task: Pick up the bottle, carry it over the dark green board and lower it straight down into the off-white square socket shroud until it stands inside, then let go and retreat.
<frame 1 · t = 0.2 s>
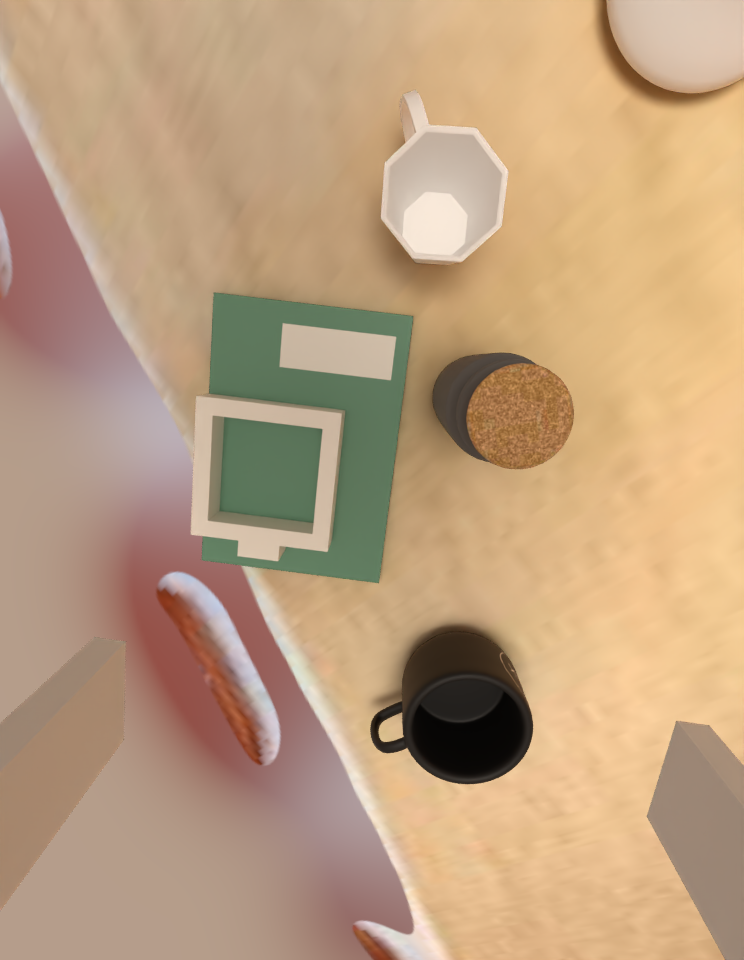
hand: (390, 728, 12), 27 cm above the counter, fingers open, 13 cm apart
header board: (302, 444, 39), on the counter
mug: (439, 675, 43), on the counter
bottle: (471, 396, 38), on the counter
cup: (426, 210, 35), on the counter
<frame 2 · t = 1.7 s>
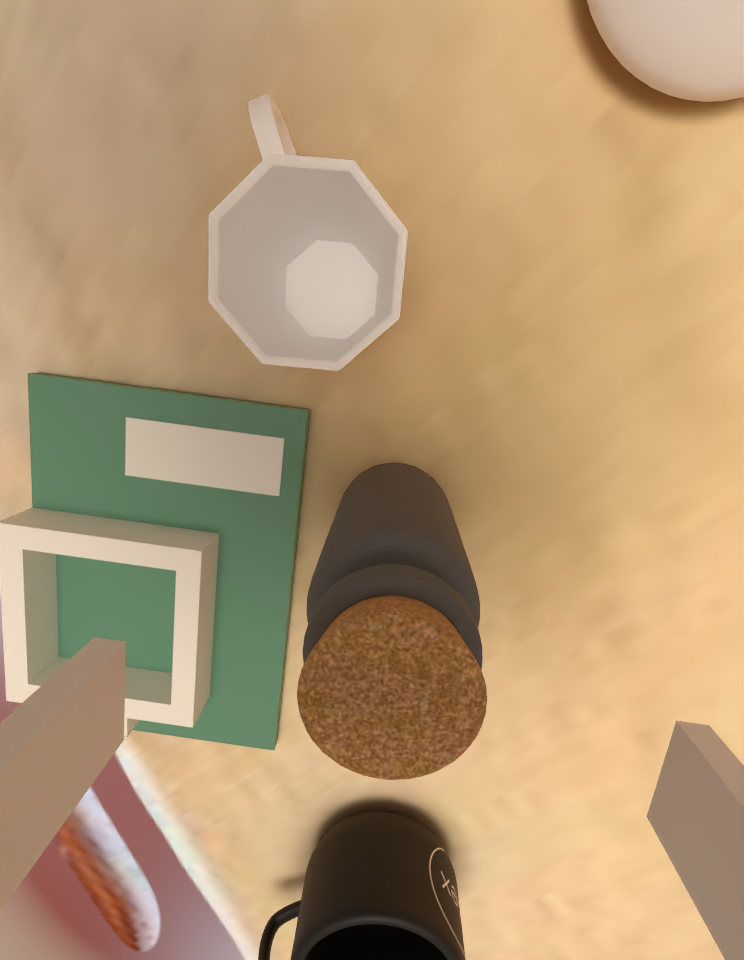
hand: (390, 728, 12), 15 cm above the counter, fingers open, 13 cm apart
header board: (167, 571, 29), on the counter
mug: (360, 855, 33), on the counter
bottle: (394, 514, 27), on the counter
cup: (325, 263, 25), on the counter
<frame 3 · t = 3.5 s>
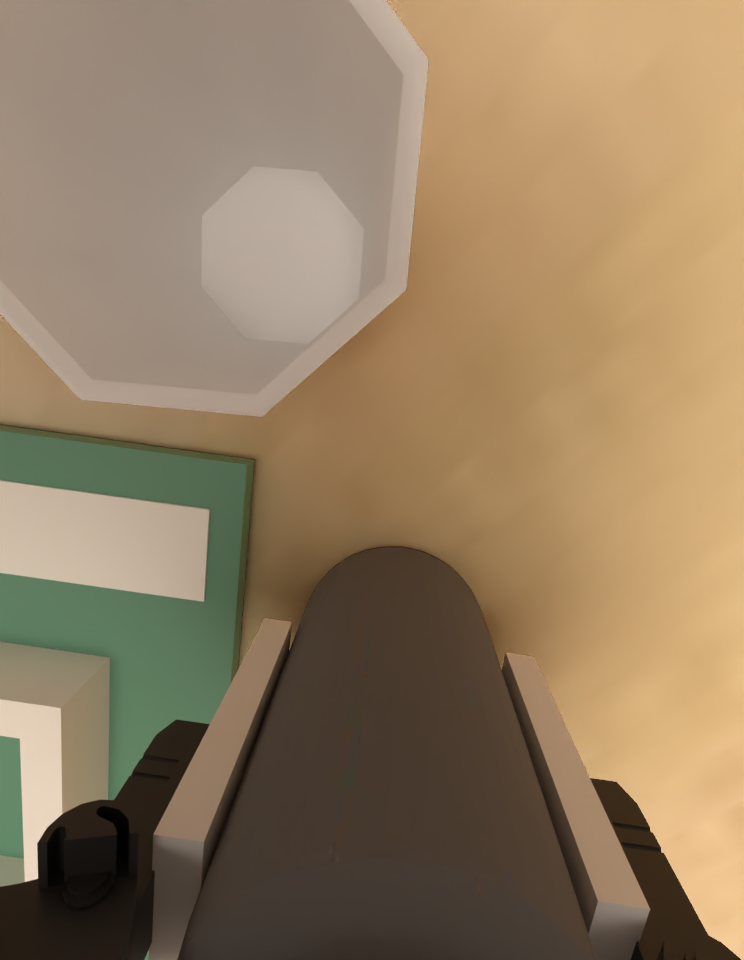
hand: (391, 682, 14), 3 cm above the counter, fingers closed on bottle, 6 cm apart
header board: (38, 707, 18), on the counter
bottle: (392, 625, 17), on the counter, touching gripper
cup: (275, 214, 14), on the counter
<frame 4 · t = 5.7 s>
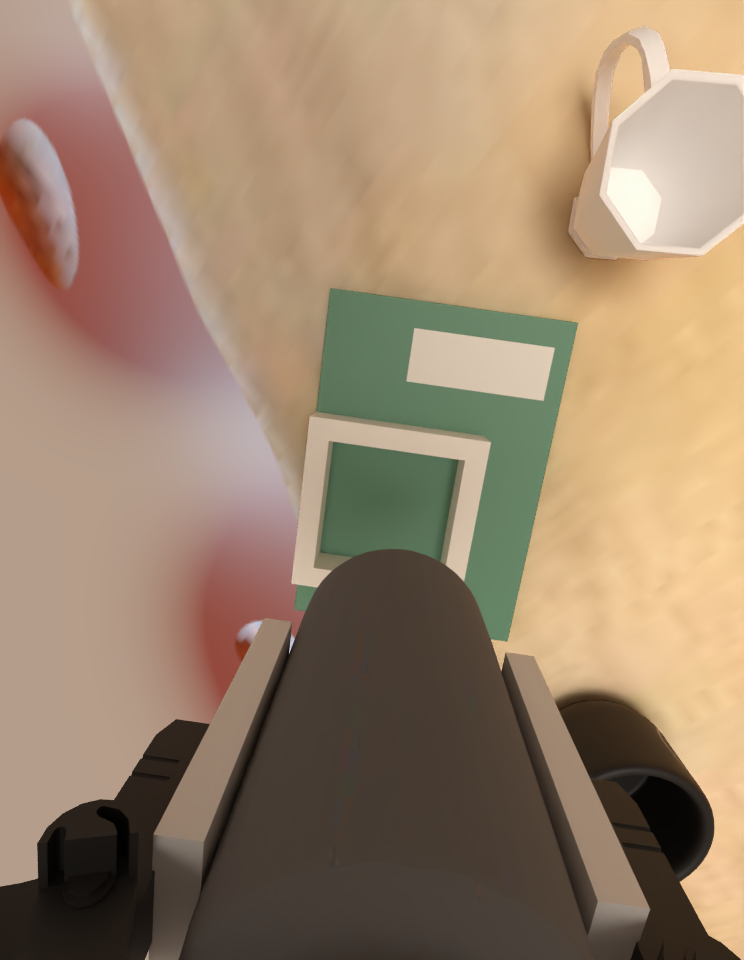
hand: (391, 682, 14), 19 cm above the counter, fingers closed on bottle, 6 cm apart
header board: (424, 474, 32), on the counter
mug: (566, 747, 36), on the counter
bottle: (393, 627, 17), point 16 cm above the counter, touching gripper
cup: (601, 191, 28), on the counter
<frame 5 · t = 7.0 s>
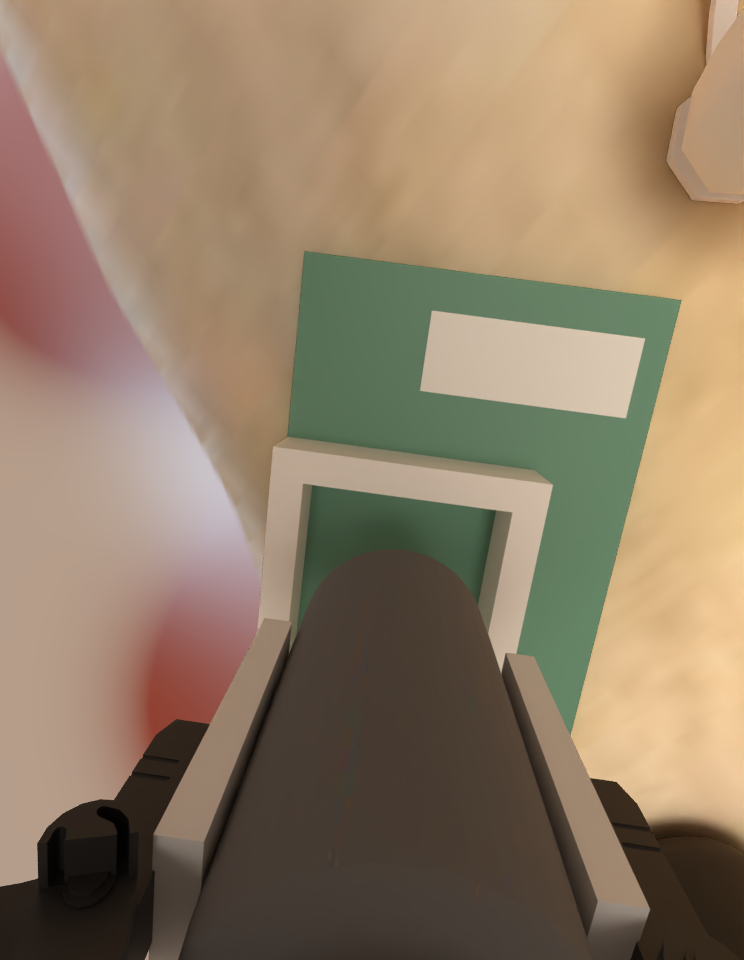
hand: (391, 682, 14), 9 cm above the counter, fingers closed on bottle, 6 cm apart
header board: (446, 524, 22), on the counter
mug: (641, 890, 26), on the counter
bottle: (392, 627, 17), point 6 cm above the counter, touching gripper
cup: (718, 97, 18), on the counter
when the fingers open (5 cm above the counter, at t = 8.0 s): bottle drops 1 cm, resting on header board.
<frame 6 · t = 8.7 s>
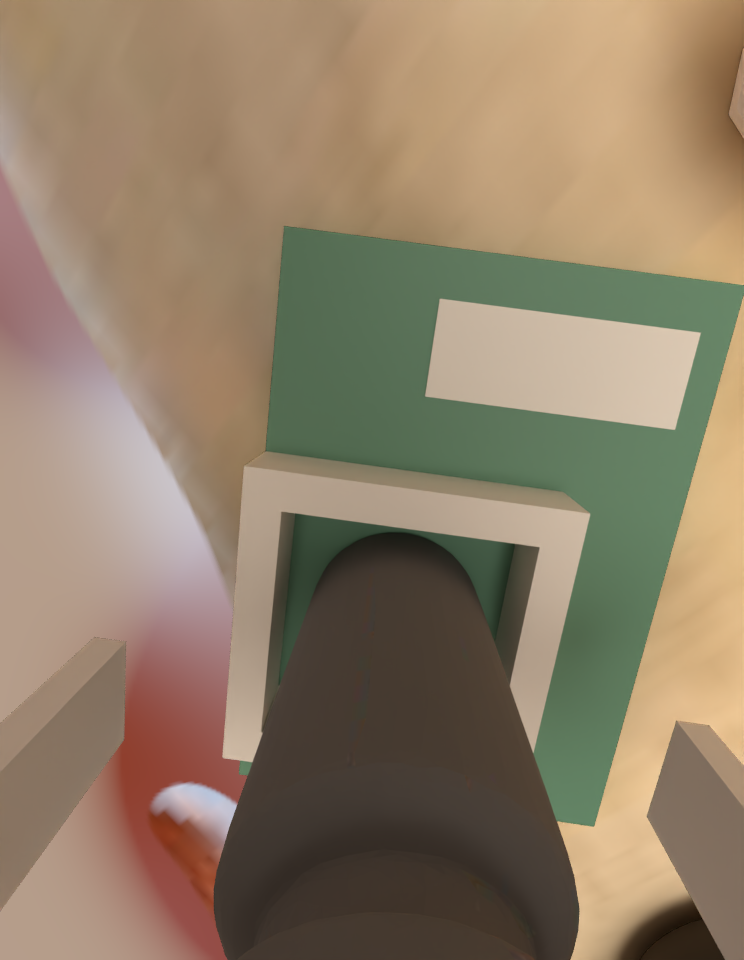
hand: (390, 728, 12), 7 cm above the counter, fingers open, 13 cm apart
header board: (455, 554, 19), on the counter
bottle: (394, 605, 18), point 1 cm above the counter, touching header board
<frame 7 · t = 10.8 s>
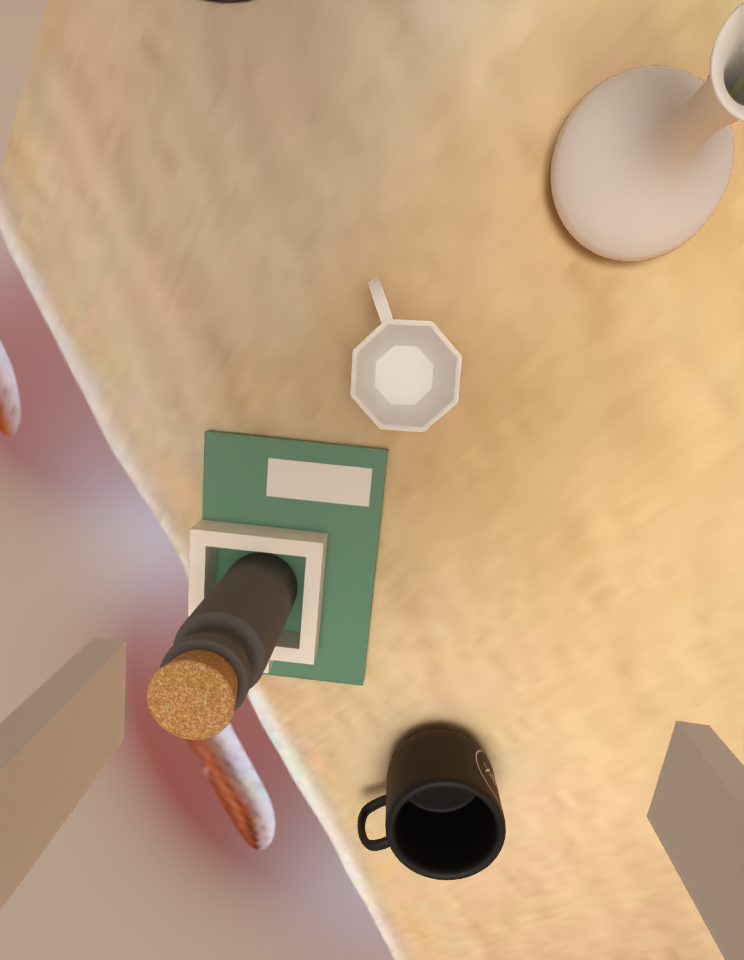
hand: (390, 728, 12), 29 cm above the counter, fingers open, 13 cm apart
flower in vase: (623, 166, 35), on the counter
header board: (289, 561, 42), on the counter
mug: (422, 766, 46), on the counter
bottle: (263, 584, 42), point 1 cm above the counter, touching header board
cup: (397, 356, 38), on the counter
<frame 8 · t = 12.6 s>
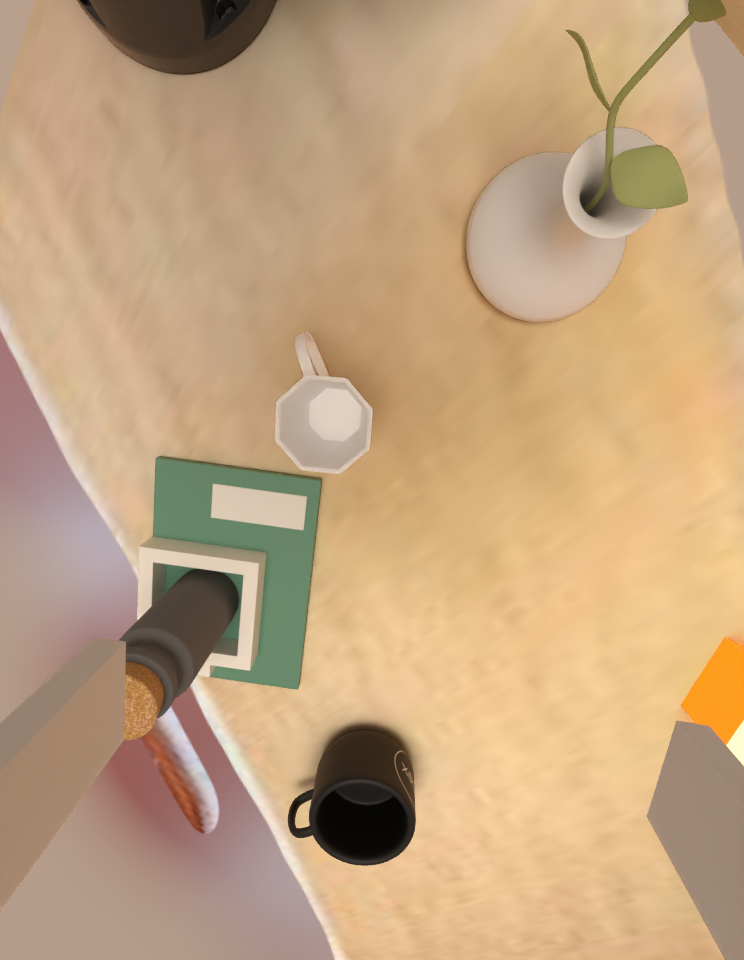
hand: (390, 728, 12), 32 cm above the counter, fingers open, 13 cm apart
flower in vase: (535, 234, 39), on the counter
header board: (233, 575, 46), on the counter
mug: (352, 762, 50), on the counter
bottle: (208, 596, 46), point 1 cm above the counter, touching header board
cup: (331, 395, 42), on the counter
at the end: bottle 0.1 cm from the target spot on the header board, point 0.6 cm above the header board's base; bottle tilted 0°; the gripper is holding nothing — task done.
